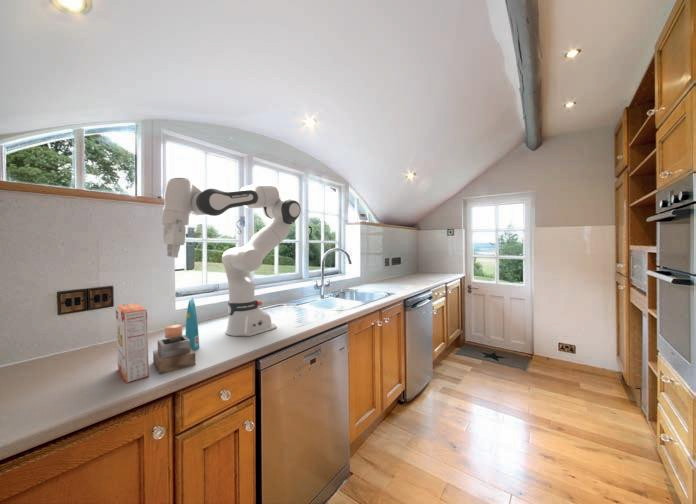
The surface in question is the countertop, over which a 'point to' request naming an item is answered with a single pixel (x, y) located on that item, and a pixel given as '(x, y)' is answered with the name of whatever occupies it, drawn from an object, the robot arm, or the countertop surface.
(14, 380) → the countertop surface
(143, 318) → the cracker box
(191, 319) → the tube
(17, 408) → the countertop surface
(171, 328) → the push button
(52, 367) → the countertop surface
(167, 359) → the grey stepped open box
